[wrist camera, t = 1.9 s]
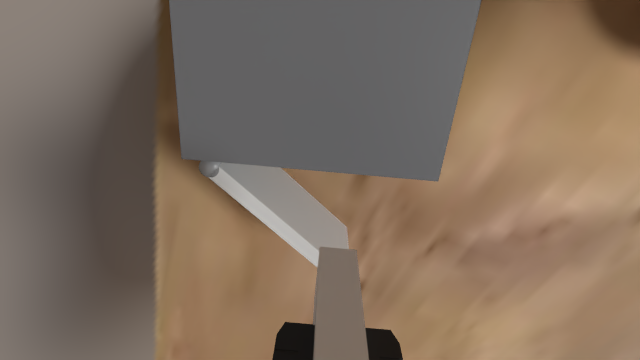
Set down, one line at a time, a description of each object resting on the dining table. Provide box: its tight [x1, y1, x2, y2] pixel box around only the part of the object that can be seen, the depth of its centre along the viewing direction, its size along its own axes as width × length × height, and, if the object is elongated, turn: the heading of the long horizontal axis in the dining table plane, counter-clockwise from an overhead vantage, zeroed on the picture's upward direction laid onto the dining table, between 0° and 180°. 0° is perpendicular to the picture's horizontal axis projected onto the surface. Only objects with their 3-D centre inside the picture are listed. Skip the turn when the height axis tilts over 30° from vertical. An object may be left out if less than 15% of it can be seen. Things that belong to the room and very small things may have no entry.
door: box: [199, 161, 349, 267], centre depth 25 cm, size 2×12×7 cm, turn 45°
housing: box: [169, 0, 481, 181], centre depth 21 cm, size 12×14×9 cm
